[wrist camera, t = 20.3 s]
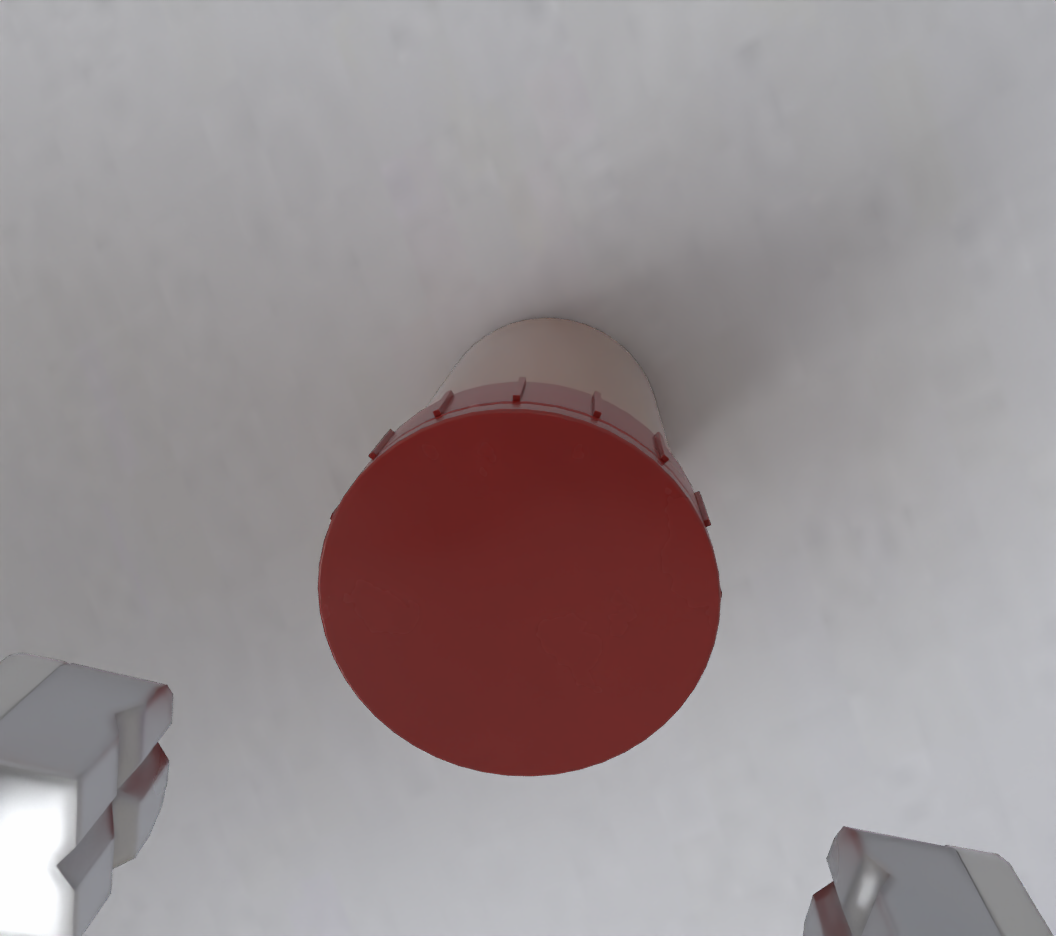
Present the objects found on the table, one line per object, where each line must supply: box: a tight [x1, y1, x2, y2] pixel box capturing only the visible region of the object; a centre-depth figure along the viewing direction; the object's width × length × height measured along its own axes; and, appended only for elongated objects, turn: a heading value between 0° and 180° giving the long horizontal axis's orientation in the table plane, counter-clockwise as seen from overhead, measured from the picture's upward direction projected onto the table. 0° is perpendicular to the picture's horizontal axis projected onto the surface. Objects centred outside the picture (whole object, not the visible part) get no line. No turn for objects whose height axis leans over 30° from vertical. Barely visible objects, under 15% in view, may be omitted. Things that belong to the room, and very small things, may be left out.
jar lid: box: [318, 377, 722, 776], centre depth 14 cm, size 6×6×2 cm
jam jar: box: [426, 318, 670, 451], centre depth 19 cm, size 6×6×10 cm
